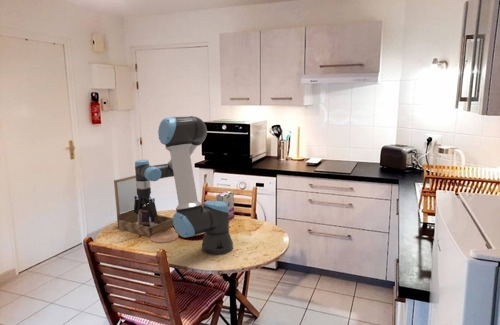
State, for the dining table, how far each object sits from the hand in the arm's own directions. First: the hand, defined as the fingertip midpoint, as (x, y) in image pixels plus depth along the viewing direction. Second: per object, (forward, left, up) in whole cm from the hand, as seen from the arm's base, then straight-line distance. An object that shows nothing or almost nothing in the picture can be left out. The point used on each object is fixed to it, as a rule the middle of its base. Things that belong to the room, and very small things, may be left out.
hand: (146, 226), depth 200 cm
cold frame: (0, 0, -1) cm, 1 cm away
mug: (0, 0, -1) cm, 1 cm away
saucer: (-20, +6, -1) cm, 21 cm away
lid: (+12, 0, +7) cm, 14 cm away
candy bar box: (-32, -33, -1) cm, 46 cm away
